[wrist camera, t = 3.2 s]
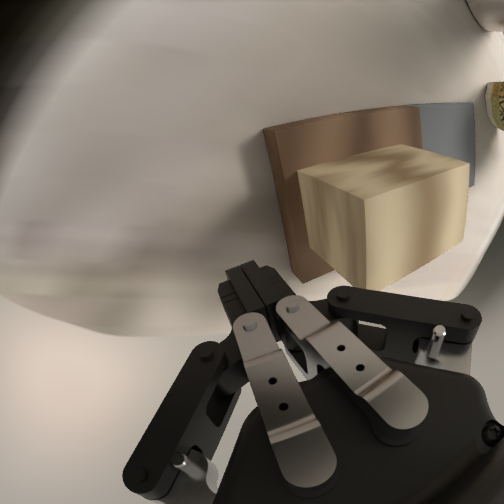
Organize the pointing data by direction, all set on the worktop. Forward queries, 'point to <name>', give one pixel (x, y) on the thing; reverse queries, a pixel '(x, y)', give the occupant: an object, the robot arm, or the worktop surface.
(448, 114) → the mat
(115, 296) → the worktop surface
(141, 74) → the worktop surface
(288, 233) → the brown flat slab
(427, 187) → the block
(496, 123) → the ceramic cup
